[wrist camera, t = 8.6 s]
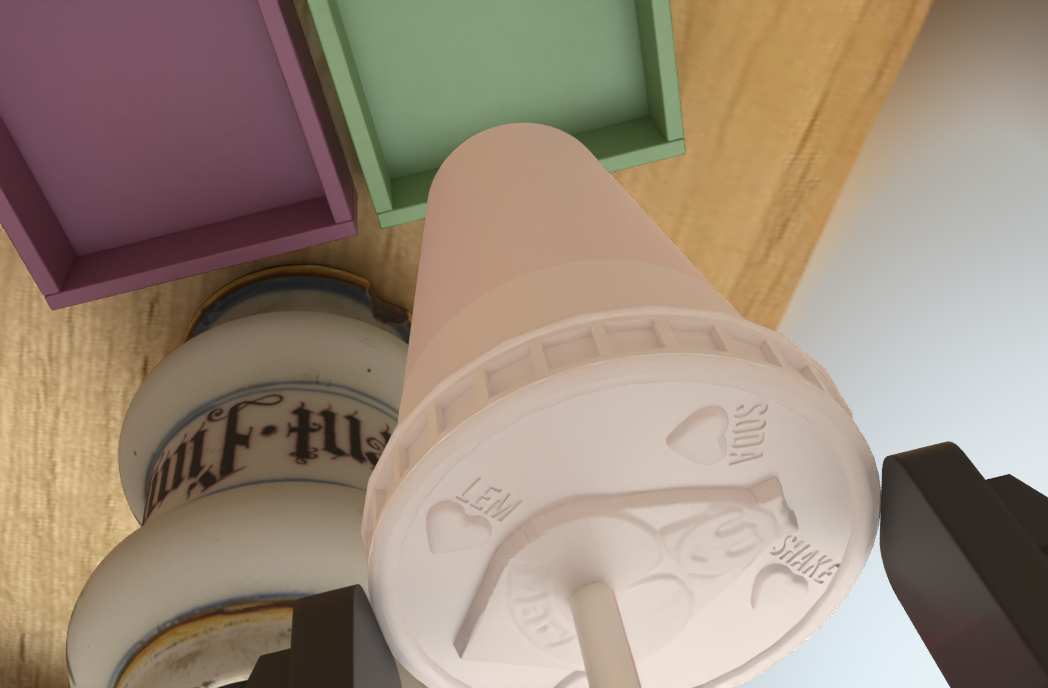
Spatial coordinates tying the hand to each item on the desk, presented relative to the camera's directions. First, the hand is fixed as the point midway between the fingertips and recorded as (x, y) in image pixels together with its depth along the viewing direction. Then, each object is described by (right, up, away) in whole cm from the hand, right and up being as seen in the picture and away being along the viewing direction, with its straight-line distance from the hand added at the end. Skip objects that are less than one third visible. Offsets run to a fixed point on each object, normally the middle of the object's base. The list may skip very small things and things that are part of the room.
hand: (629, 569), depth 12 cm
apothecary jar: (-10, +2, +28) cm, 29 cm away
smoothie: (-1, +5, +8) cm, 10 cm away
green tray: (-2, +14, +21) cm, 25 cm away
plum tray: (-14, +11, +21) cm, 27 cm away
